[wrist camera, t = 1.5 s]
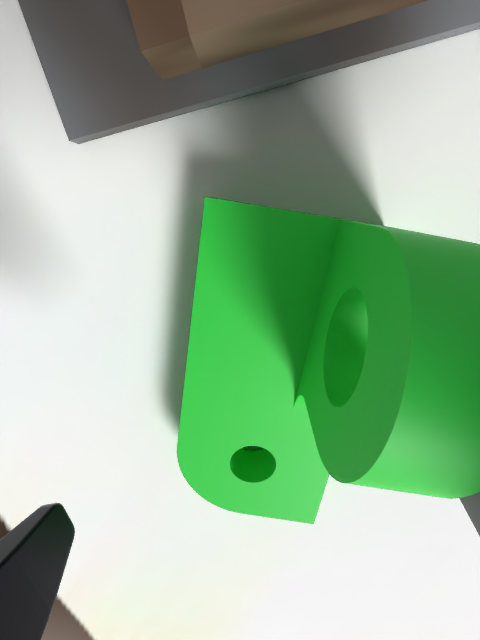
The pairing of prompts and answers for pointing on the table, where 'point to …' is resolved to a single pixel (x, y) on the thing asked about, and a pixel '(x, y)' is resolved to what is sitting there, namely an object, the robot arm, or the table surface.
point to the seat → (212, 50)
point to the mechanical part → (328, 361)
